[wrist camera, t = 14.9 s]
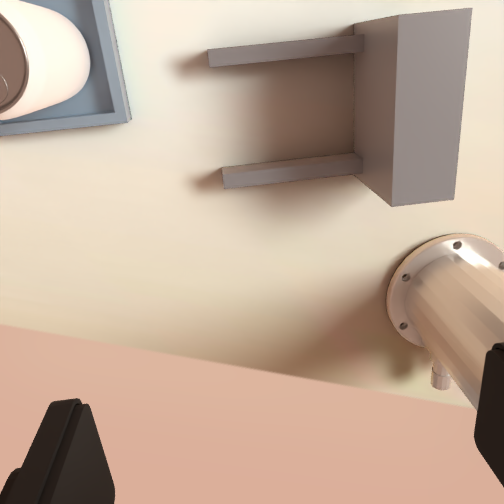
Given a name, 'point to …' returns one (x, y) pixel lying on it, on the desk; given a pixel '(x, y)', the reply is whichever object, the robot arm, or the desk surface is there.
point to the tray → (99, 80)
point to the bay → (383, 106)
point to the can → (38, 58)
